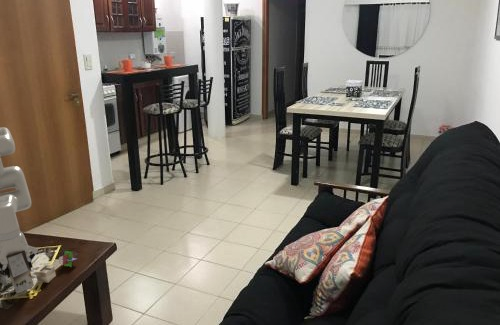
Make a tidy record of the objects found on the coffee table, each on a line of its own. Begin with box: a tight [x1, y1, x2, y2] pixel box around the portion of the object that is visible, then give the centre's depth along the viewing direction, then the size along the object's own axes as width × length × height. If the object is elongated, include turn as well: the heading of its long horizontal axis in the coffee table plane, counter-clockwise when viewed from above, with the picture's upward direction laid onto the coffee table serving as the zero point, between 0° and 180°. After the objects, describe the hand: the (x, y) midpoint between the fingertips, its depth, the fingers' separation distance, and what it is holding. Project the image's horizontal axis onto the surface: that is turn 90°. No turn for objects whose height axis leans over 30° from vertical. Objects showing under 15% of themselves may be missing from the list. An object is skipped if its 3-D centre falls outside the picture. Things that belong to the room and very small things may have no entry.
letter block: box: [35, 264, 57, 283], centre depth 167 cm, size 6×5×5 cm
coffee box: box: [6, 251, 34, 294], centre depth 157 cm, size 9×6×16 cm
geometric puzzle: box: [58, 250, 77, 268], centre depth 176 cm, size 7×7×8 cm
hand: (19, 272), depth 158 cm, fingers closed on coffee box, 7 cm apart
